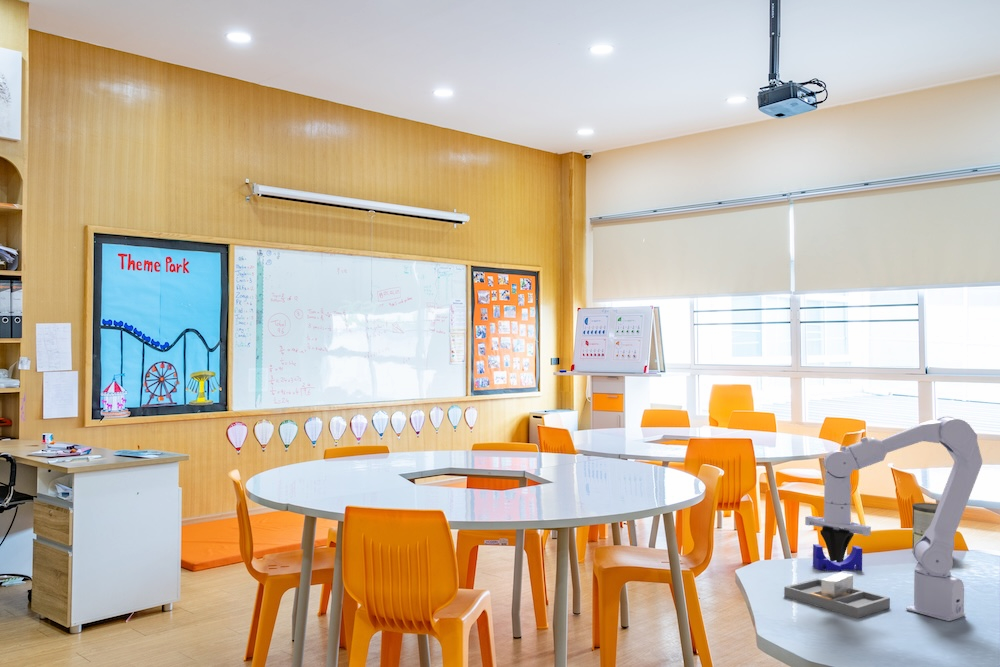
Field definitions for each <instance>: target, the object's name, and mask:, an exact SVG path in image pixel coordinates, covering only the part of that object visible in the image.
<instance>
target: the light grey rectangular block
mask: <svg viewBox="0 0 1000 667" xmlns="http://www.w3.org/2000/svg"><path fill="white" fill-rule="evenodd" d="M821 580H822V582H821V595H822V596H825V597H829V598H832V599H835V598H838V597H842V596H845V595H849V594H852V593H853V588H854V574H850V573H846V572H842V571H839V572H838V573H834V574H832V575H828V576H827V577H825V578H822V579H821Z"/></svg>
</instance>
